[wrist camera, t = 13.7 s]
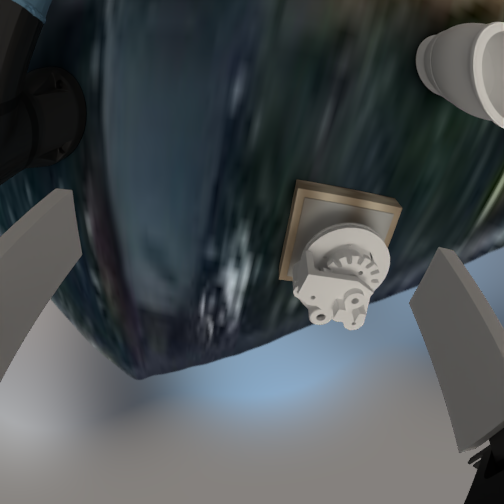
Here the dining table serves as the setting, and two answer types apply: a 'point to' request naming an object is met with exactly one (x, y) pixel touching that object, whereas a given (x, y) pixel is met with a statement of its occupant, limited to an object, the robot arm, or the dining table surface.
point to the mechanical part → (340, 273)
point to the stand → (332, 217)
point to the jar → (466, 68)
